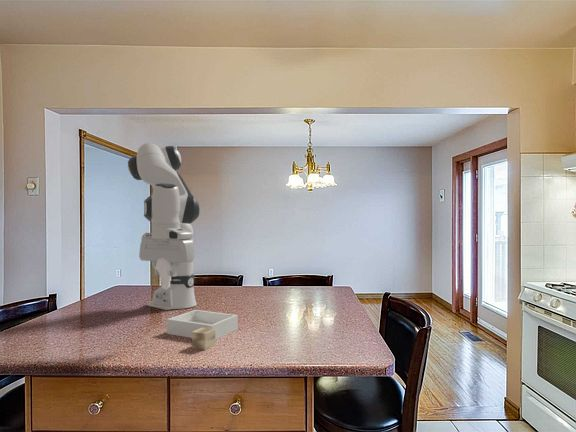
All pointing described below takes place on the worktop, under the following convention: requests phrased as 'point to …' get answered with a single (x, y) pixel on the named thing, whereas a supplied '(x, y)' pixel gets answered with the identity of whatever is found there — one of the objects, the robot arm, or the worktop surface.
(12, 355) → the worktop surface
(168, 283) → the lightbulb
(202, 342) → the maple cube
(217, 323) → the tote
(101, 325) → the worktop surface
